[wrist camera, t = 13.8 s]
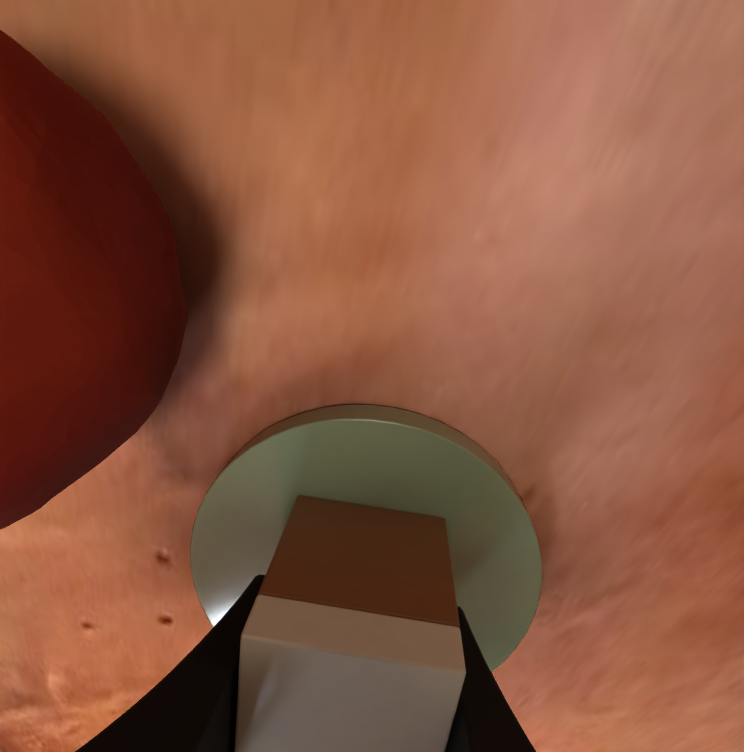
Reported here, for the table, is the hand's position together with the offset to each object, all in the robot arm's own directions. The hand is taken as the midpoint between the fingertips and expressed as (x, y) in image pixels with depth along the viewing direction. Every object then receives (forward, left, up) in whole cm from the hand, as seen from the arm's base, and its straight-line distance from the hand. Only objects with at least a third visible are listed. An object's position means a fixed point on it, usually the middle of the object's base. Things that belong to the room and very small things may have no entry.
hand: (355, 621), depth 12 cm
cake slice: (0, 0, -1) cm, 1 cm away
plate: (0, 0, -2) cm, 2 cm away
